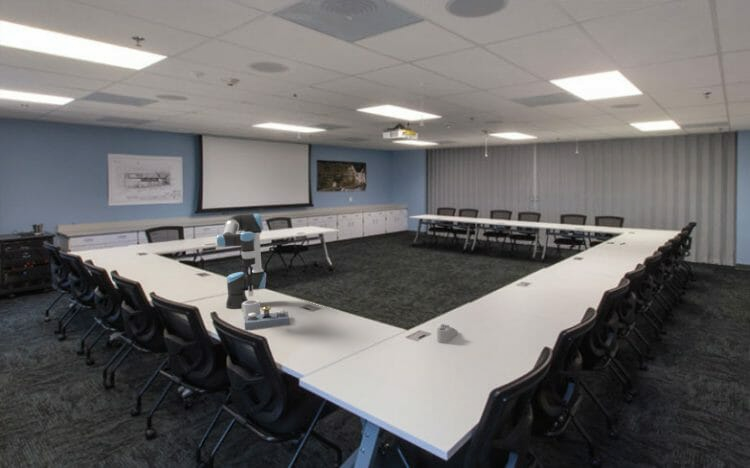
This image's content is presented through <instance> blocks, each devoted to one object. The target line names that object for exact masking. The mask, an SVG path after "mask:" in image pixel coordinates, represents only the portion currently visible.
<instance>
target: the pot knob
mask: <svg viewBox="0 0 750 468" xmlns="http://www.w3.org/2000/svg"><path fill="white" fill-rule="evenodd" d="M261 310H262V311H263V314H264V318H269V317H270V315H269V313H270V310H271V306H269V305H266V306H262V307H261Z"/></svg>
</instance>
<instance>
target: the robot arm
mask: <svg viewBox="0 0 750 468" xmlns="http://www.w3.org/2000/svg"><path fill="white" fill-rule="evenodd" d="M263 230H264V225H263V218H262V216H261V214H259V213H246V214H241V213H240V214H235V215H233V216H231V217H229V218H228V219H227V220H226V221H225V223H224V230H223V232H222V234H218V235H216V243H217V244H216V245H217V247H218V248H226V247H227V248H228V247H241V252H240V255H241V258H242V259H241V264H242V265H243V266H245V271H246V273H244V271H239V272H234V273H233V272H232V273H231V274H228V276H227V277H226V285H227V287H226V288H227V299H226V303H225V307H226V309H242V303H243V302H245V301H248V300H249V299H248V298H247V295H246V291H248V297H254V291H260V290H265V288H266V282H267V281H266V280H267V273H266V272H265V271H264V269H263V268H262V255H261V253H262V251H261V242H260V241H261V239H260V235H261V234H262V231H263ZM237 232H240V233H237Z"/></svg>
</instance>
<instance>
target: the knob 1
mask: <svg viewBox="0 0 750 468" xmlns="http://www.w3.org/2000/svg"><path fill="white" fill-rule="evenodd" d="M256 316H257V313H249V314H248V317H249V320H256Z"/></svg>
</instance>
